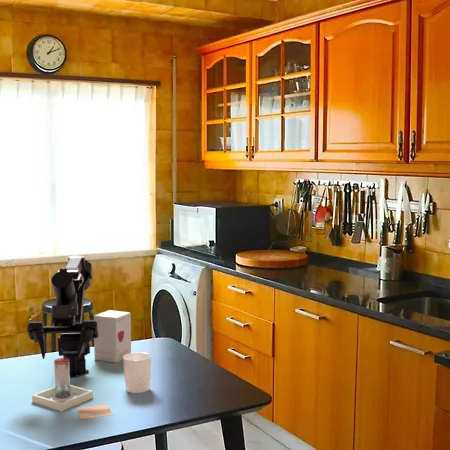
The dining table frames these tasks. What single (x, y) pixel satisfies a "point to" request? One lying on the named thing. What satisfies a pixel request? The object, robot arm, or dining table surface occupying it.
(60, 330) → the robot arm
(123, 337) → the supplement box
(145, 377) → the white cup
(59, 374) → the clear shaker bottle
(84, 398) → the tray
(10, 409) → the dining table surface
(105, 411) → the keeper plate
